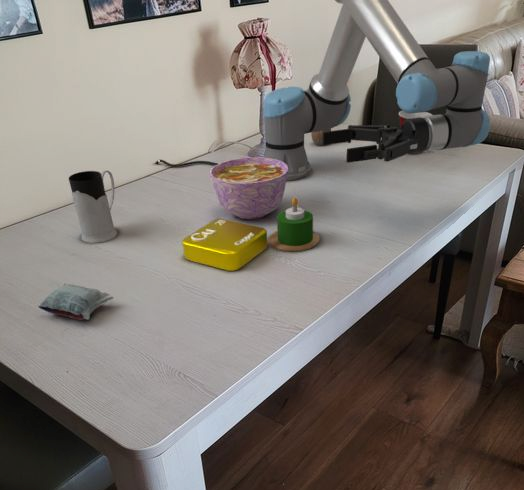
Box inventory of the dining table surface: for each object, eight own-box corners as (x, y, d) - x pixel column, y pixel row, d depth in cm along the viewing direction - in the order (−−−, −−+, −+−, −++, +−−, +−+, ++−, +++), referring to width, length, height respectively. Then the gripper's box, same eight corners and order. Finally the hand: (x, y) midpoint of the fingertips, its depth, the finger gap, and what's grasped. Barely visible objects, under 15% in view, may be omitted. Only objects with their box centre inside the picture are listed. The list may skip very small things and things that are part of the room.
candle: (304, 228, 132) (304, 188, 126) (318, 242, 125) (318, 200, 119) (272, 234, 130) (271, 194, 124) (284, 248, 123) (283, 206, 117)
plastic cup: (429, 157, 172) (434, 117, 165) (394, 156, 174) (398, 117, 167) (427, 147, 181) (432, 108, 174) (394, 146, 183) (398, 108, 176)
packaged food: (69, 294, 112) (63, 274, 109) (116, 305, 108) (110, 283, 105) (40, 316, 106) (32, 295, 103) (88, 328, 102) (81, 306, 99)
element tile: (234, 273, 116) (232, 252, 113) (180, 258, 123) (177, 239, 120) (270, 245, 126) (270, 226, 123) (219, 233, 133) (217, 215, 130)
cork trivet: (258, 242, 128) (258, 240, 128) (291, 225, 135) (291, 224, 134) (296, 256, 121) (296, 254, 121) (329, 238, 128) (329, 236, 127)
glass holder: (74, 240, 134) (57, 180, 125) (107, 218, 144) (94, 161, 135) (103, 244, 131) (88, 183, 122) (135, 221, 141) (123, 164, 133)
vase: (333, 141, 191) (333, 115, 186) (328, 147, 186) (329, 120, 180) (314, 141, 193) (314, 115, 188) (309, 146, 188) (309, 120, 182)
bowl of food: (198, 216, 142) (192, 172, 135) (250, 193, 154) (248, 152, 147) (252, 235, 131) (250, 189, 124) (305, 209, 142) (305, 165, 135)
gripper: (449, 168, 114) (357, 182, 110) (394, 137, 134) (314, 148, 130) (455, 131, 110) (359, 144, 106) (397, 105, 129) (314, 115, 125)
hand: (334, 146), depth 118 cm, fingers open, 13 cm apart
